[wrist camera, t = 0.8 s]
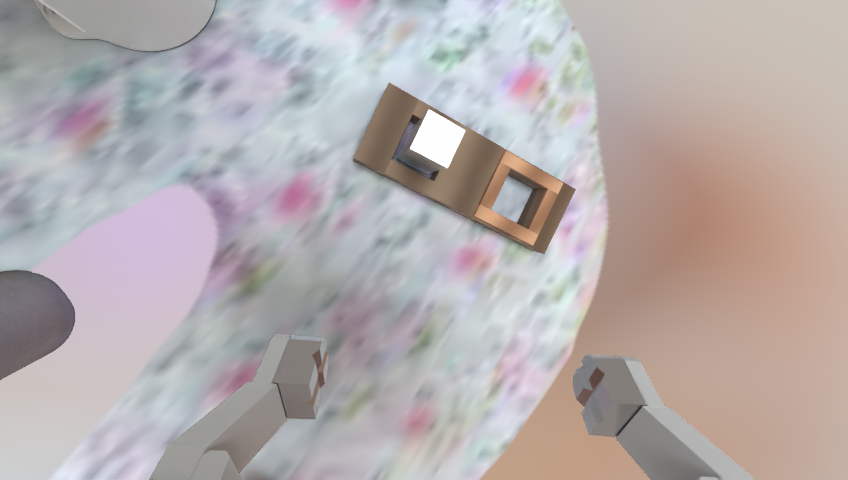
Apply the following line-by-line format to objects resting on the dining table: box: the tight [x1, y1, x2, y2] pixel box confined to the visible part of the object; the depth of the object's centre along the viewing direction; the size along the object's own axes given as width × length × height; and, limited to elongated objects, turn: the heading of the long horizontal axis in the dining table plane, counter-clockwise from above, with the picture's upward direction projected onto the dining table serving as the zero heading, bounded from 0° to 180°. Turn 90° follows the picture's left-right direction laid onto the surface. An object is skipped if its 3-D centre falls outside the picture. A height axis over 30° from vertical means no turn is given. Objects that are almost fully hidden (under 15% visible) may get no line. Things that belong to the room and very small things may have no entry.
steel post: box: [397, 110, 466, 174], centre depth 39 cm, size 4×4×10 cm
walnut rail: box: [353, 83, 576, 254], centre depth 43 cm, size 26×9×4 cm, turn 64°
